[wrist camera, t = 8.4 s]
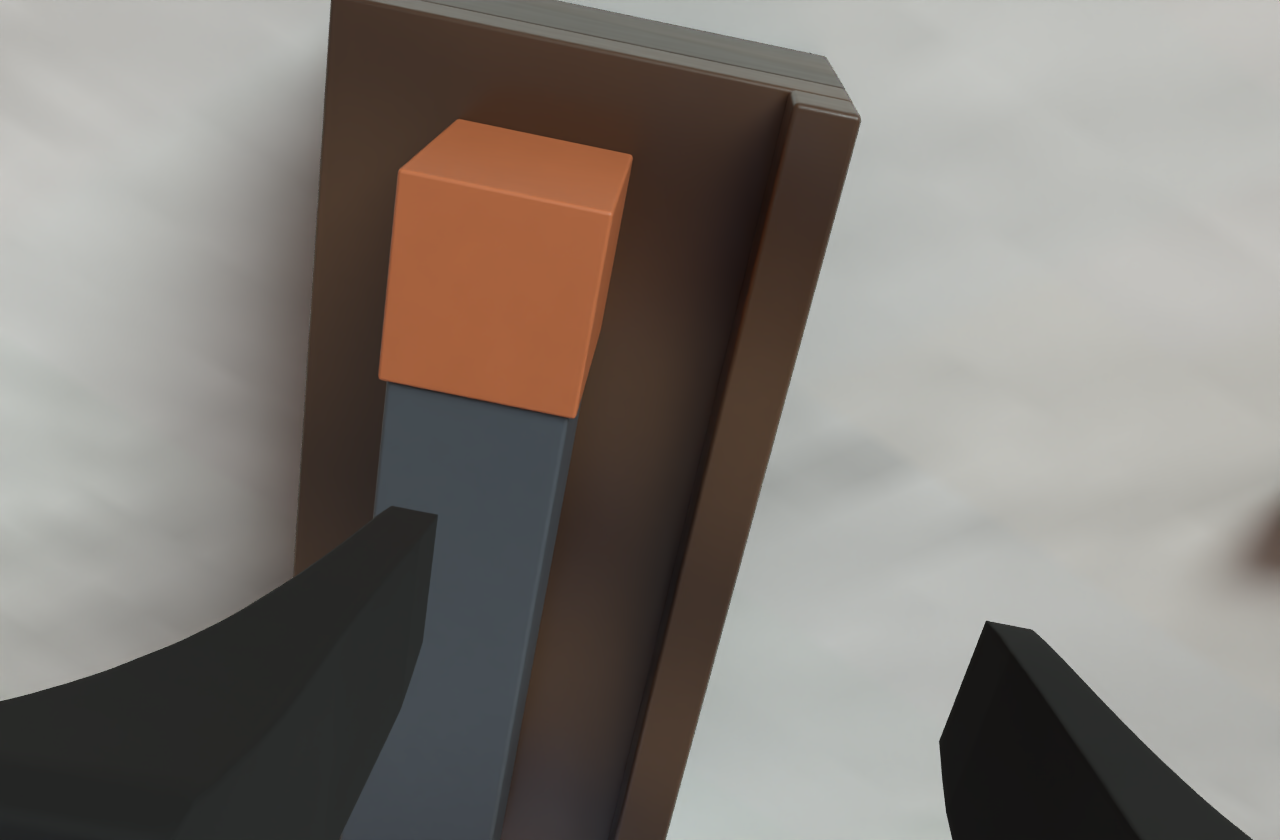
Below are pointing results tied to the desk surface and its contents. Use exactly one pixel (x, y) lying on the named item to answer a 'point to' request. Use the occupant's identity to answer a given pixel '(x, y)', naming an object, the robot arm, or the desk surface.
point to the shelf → (624, 355)
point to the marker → (483, 443)
